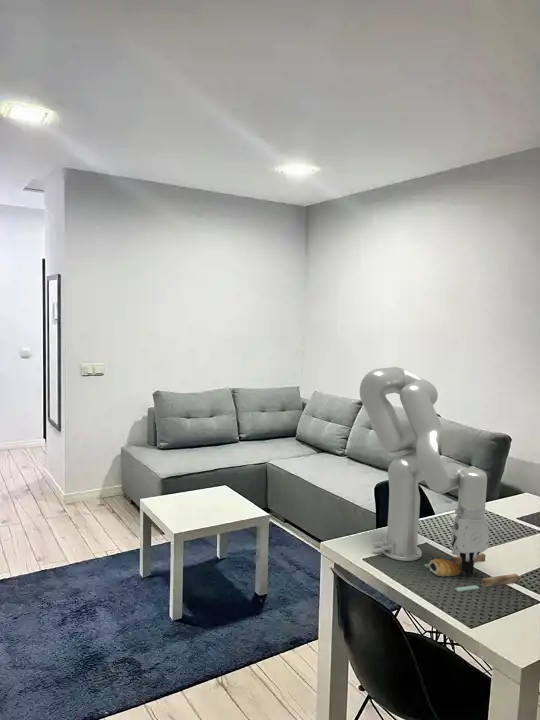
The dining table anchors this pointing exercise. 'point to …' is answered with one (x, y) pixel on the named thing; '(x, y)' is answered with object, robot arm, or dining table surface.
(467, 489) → the robot arm
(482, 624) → the dining table surface
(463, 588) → the strips
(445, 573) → the pastry
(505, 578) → the chute
